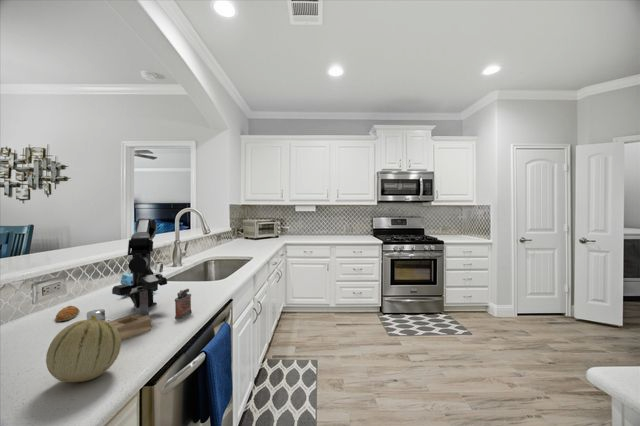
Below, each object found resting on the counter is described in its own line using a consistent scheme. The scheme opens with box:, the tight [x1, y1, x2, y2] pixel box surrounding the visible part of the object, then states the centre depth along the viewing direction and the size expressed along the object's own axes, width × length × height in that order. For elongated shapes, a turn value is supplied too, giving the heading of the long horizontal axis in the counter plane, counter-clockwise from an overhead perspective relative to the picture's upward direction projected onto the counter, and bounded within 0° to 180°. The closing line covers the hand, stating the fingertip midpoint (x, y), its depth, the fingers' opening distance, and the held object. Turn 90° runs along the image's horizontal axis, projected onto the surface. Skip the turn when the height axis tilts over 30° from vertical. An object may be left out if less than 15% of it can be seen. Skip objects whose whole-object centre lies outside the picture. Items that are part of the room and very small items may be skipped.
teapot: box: [119, 273, 133, 296], centre depth 151 cm, size 15×15×11 cm
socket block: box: [108, 313, 152, 342], centre depth 101 cm, size 10×10×4 cm
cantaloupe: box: [45, 315, 122, 383], centre depth 74 cm, size 15×15×15 cm
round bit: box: [86, 308, 106, 321], centre depth 105 cm, size 5×5×6 cm
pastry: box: [55, 305, 80, 322], centre depth 115 cm, size 9×7×4 cm
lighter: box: [174, 288, 192, 320], centre depth 117 cm, size 8×3×10 cm, turn 168°
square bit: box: [134, 289, 149, 317], centre depth 117 cm, size 3×3×10 cm
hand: (141, 306), depth 117 cm, fingers closed on square bit, 3 cm apart
